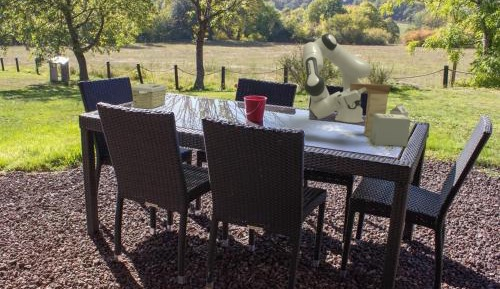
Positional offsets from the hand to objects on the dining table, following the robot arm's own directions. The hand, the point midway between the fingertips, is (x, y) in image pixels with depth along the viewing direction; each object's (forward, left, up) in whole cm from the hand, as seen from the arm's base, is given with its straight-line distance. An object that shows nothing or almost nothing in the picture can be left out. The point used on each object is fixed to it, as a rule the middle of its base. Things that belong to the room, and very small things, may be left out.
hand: (364, 87), depth 236 cm
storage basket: (-76, -132, -29) cm, 155 cm away
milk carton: (-14, +22, -29) cm, 39 cm away
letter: (-1, +15, -14) cm, 21 cm away
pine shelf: (-18, +7, -28) cm, 34 cm away
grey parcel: (-1, +15, -28) cm, 32 cm away
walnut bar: (0, +2, -3) cm, 4 cm away
